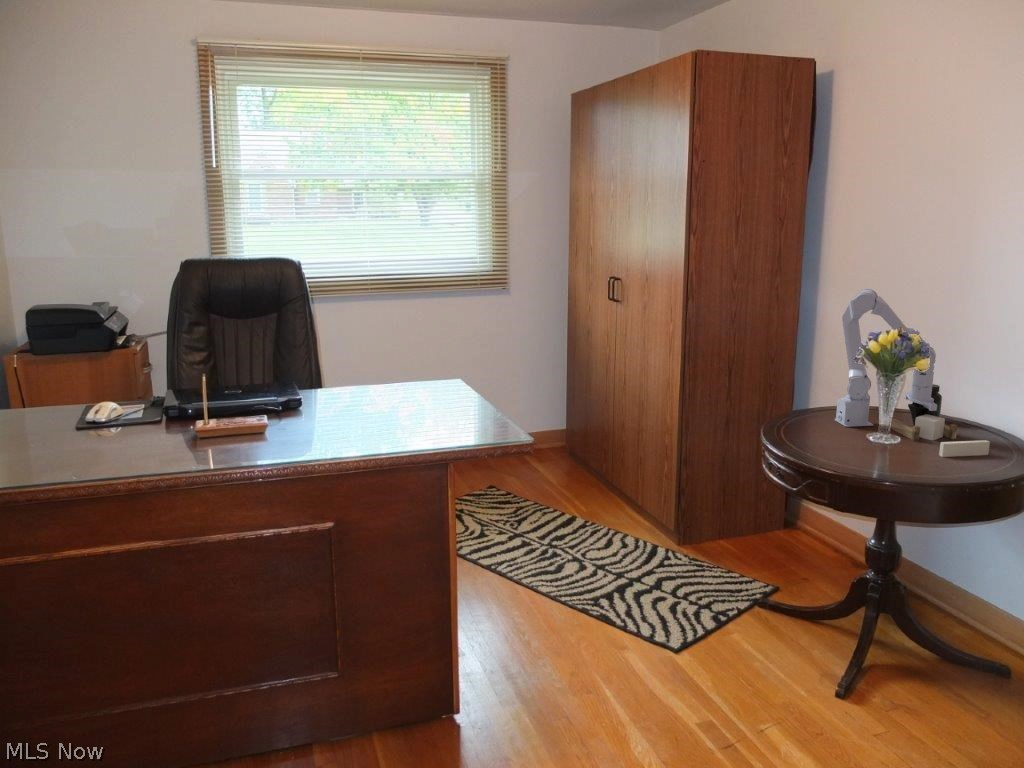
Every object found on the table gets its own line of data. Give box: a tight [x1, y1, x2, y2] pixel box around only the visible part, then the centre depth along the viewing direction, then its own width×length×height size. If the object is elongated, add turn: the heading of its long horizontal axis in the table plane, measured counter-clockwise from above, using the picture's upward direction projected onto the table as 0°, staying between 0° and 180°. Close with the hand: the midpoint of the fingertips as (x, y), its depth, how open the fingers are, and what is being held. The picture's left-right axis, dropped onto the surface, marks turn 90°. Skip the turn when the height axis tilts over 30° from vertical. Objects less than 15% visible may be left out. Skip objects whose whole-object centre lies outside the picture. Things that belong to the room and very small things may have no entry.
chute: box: [890, 418, 958, 442], centre depth 250 cm, size 14×14×4 cm
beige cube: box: [915, 414, 946, 441], centre depth 247 cm, size 6×6×6 cm
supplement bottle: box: [927, 383, 943, 418], centre depth 263 cm, size 7×7×12 cm
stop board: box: [938, 439, 991, 458], centre depth 230 cm, size 14×2×4 cm, turn 95°
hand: (917, 426), depth 253 cm, fingers closed
